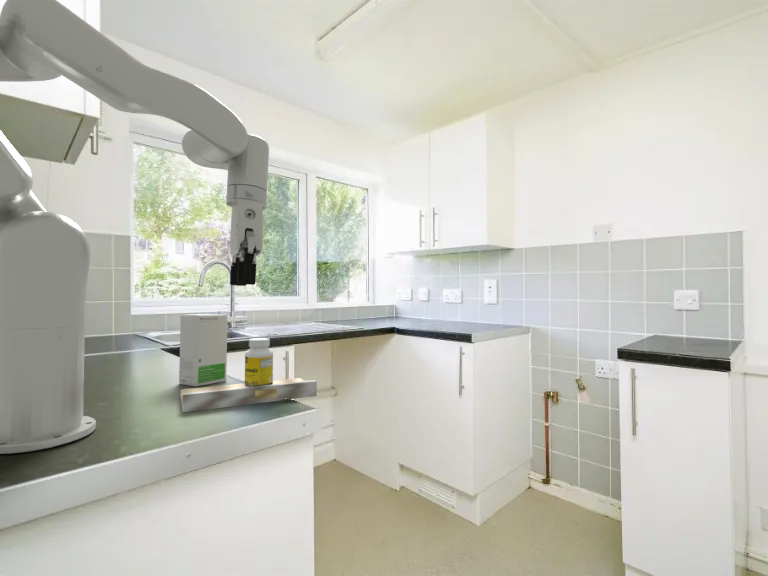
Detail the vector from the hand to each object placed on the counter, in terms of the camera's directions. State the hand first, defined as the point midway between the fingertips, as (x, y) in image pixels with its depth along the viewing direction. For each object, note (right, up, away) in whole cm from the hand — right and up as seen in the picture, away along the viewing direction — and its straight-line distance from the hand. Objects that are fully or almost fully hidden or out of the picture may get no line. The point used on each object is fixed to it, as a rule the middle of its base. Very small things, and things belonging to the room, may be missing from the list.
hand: (241, 284), depth 78 cm
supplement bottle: (+3, -21, +2) cm, 21 cm away
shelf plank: (+1, -22, +1) cm, 22 cm away
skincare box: (-13, -22, +12) cm, 29 cm away
